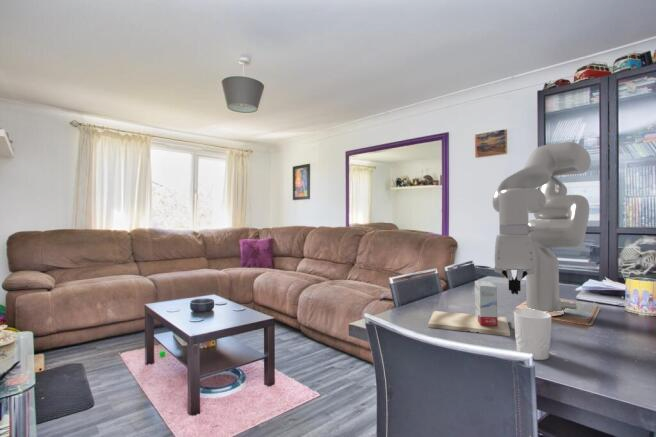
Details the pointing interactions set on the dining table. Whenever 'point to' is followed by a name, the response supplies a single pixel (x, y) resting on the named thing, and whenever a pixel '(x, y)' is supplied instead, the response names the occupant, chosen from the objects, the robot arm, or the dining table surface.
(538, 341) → the white cup
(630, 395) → the dining table surface
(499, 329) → the birch board
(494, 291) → the ink box
